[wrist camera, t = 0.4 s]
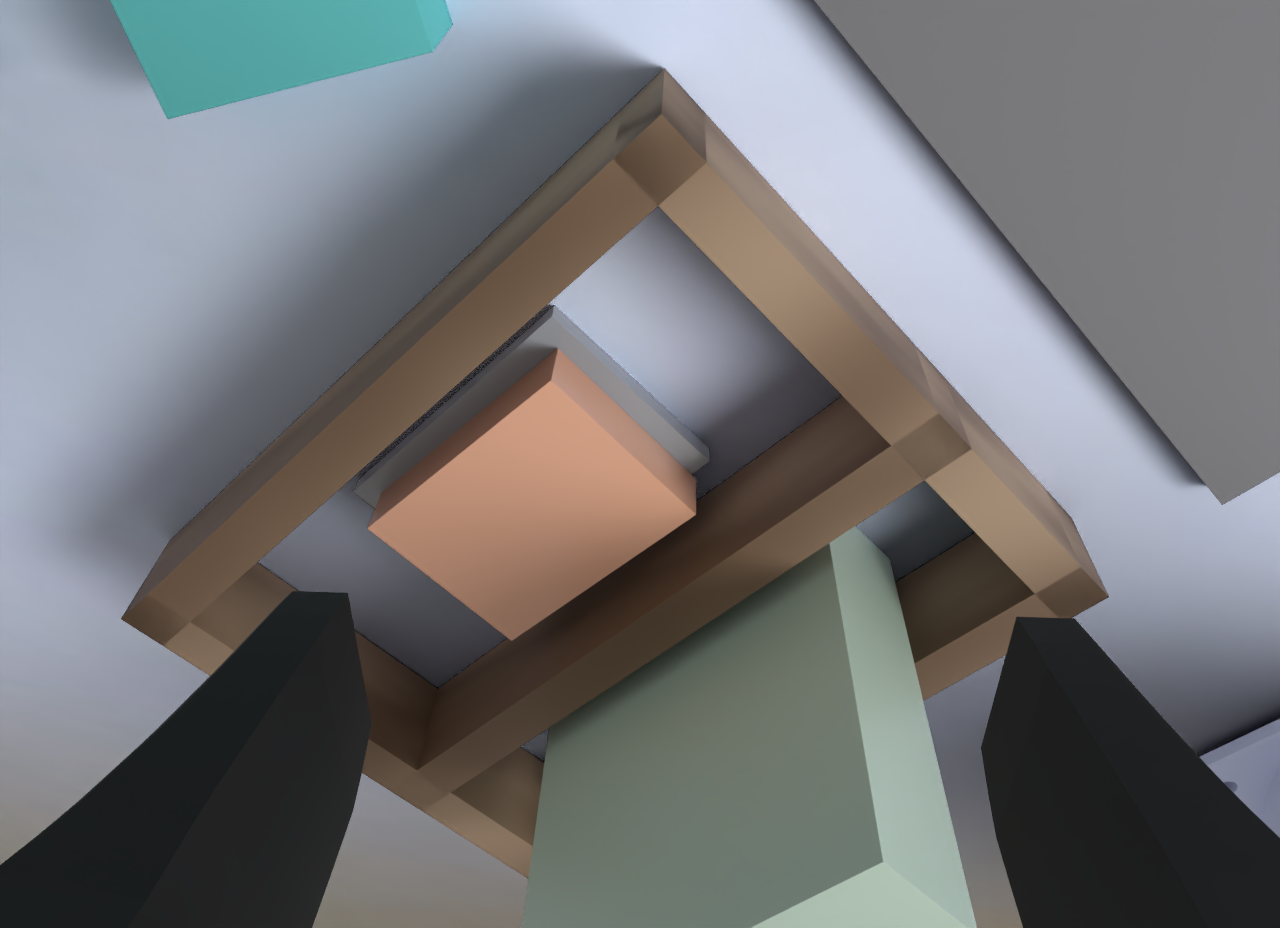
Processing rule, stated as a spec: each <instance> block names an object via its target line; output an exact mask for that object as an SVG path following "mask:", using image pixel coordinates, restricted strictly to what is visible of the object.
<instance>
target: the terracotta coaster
mask: <svg viewBox="0 0 1280 928" xmlns="http://www.w3.org/2000/svg"><path fill="white" fill-rule="evenodd" d="M695 515H696V478H694V477H693V476H692V475H691V474H690V473H689V472H688V471H687V470H686V469H685V468H684V467H683V466H682V465H681V464H680V463H679V462H678V461H677V460H675V459H674V458H673V457H672V456H671V455H670V454H669V453H668V452H667V451H666V450H665V449H664V448H663V447H662V446H661V445H660V444H659V443H658V442H657V441H655V440H654V439H653V438H652V437H651V436H650V435H649V434H648V433H647V432H646V431H645V430H644V429H643V428H642V427H641V426H640V425H639V424H638V423H636V422H635V421H634V420H633V419H632V418H631V417H630V416H629V415H628V414H627V413H626V412H625V411H624V410H623V409H622V408H621V407H620V406H619V405H617V404H616V403H615V402H614V401H613V400H612V399H611V398H610V397H609V396H608V395H607V394H606V393H605V392H604V391H603V390H602V389H601V388H600V387H598V386H597V385H596V384H595V383H594V382H593V381H592V380H591V379H590V378H589V377H588V376H587V375H586V374H585V373H584V372H583V371H582V370H581V369H579V368H578V367H577V366H576V365H575V364H574V363H573V362H572V361H571V360H570V359H569V358H568V357H567V356H566V355H565V354H564V353H563V352H562V351H560V350H559V349H556V350H555V351H554V352H553V353H551V354H550V355H549V356H548V357H547V358H545V359H544V360H543V361H542V362H540V363H539V364H538V365H537V366H536V367H534V368H533V369H532V370H531V371H529V372H528V373H527V374H526V375H525V376H523V377H522V378H521V379H520V380H519V381H517V382H516V383H515V384H514V385H512V386H511V387H510V388H509V389H508V390H506V391H505V392H504V393H503V394H501V395H500V396H499V397H498V398H497V399H495V400H494V401H493V402H492V403H490V404H489V405H488V406H487V407H486V408H484V409H483V410H482V411H481V412H479V413H478V414H477V415H476V416H475V417H473V418H472V419H471V420H470V421H469V422H467V423H466V424H465V425H464V426H462V427H461V428H460V429H459V430H458V431H456V432H455V433H454V434H453V435H451V436H450V437H449V438H448V439H447V440H445V441H444V442H443V443H442V444H440V445H439V446H438V447H437V448H436V449H434V450H433V451H432V452H431V453H429V454H428V455H427V456H426V457H425V458H423V459H422V460H421V461H420V462H419V463H417V464H416V465H415V466H414V467H412V468H411V469H410V470H409V471H408V472H406V473H405V474H404V475H403V476H402V477H400V478H399V479H398V480H397V481H395V482H394V483H393V484H392V485H391V486H389V487H388V488H387V489H386V490H385V491H383V492H382V493H381V495H380V497H379V500H378V502H377V505H376V507H375V510H374V512H373V515H372V517H371V520H370V523H369V525H368V528H367V529H368V530H370V531H371V532H372V533H374V534H375V535H376V536H377V537H379V538H380V539H381V540H383V541H384V542H385V543H386V544H388V545H389V546H390V547H391V548H393V549H394V550H395V551H397V552H398V553H399V554H400V555H402V556H403V557H404V558H406V559H407V560H408V561H409V562H411V563H412V564H413V565H415V566H416V567H417V568H418V569H420V570H421V571H422V572H424V573H425V574H426V575H427V576H429V577H430V578H431V579H433V580H434V581H435V582H436V583H438V584H439V585H440V586H442V587H443V588H444V589H445V590H447V591H448V592H449V593H451V594H452V595H453V596H454V597H456V598H457V599H458V600H460V601H461V602H462V603H463V604H465V605H466V606H467V607H469V608H470V609H471V610H472V611H474V612H475V613H476V614H478V615H479V616H480V617H481V618H483V619H484V620H485V621H486V622H488V623H489V624H490V625H492V626H493V627H494V628H495V629H497V630H498V631H499V632H501V633H502V634H503V635H504V636H506V637H507V638H508V639H510V640H511V641H512V640H514V639H515V638H517V637H518V636H519V635H521V634H522V633H524V632H525V631H527V630H528V629H530V628H531V627H533V626H534V625H536V624H537V623H538V622H540V621H541V620H543V619H544V618H546V617H547V616H549V615H550V614H552V613H553V612H555V611H556V610H557V609H559V608H560V607H562V606H563V605H565V604H566V603H568V602H569V601H571V600H572V599H574V598H575V597H576V596H578V595H579V594H581V593H582V592H584V591H585V590H587V589H588V588H590V587H591V586H593V585H594V584H595V583H597V582H598V581H600V580H601V579H603V578H604V577H606V576H607V575H609V574H610V573H612V572H613V571H615V570H616V569H617V568H619V567H620V566H622V565H623V564H625V563H626V562H628V561H629V560H631V559H632V558H634V557H635V556H636V555H638V554H639V553H641V552H642V551H644V550H645V549H647V548H648V547H650V546H651V545H653V544H654V543H655V542H657V541H658V540H660V539H661V538H663V537H664V536H666V535H667V534H669V533H670V532H672V531H673V530H674V529H676V528H677V527H679V526H680V525H682V524H683V523H685V522H686V521H688V520H689V519H691V518H692V517H693V516H695Z"/></svg>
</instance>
